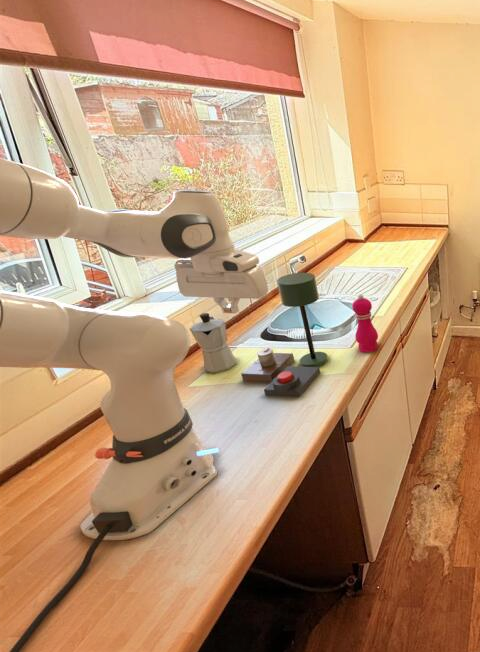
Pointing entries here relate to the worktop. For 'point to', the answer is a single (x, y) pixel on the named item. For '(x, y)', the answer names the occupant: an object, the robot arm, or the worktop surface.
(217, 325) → the coffee maker
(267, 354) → the dimmer knob
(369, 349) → the pepper mill
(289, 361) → the dimmer panel
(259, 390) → the worktop surface
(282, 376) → the lamp button
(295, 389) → the switch block
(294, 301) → the desk lamp
